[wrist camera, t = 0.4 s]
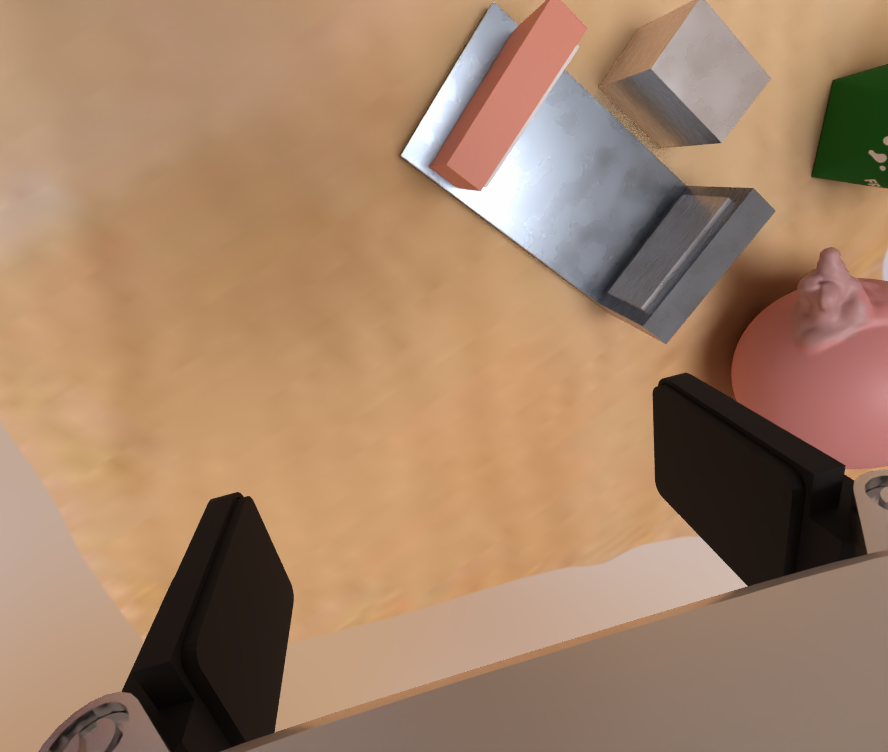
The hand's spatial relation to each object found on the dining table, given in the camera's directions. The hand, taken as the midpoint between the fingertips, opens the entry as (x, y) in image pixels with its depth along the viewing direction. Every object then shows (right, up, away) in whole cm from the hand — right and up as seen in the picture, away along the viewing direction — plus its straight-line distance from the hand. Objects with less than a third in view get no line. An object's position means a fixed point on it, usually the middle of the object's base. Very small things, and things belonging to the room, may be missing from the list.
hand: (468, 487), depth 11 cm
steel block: (+15, +24, +25) cm, 38 cm away
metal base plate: (+8, +18, +27) cm, 33 cm away
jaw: (+2, +20, +22) cm, 30 cm away
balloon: (+30, +7, +35) cm, 46 cm away
